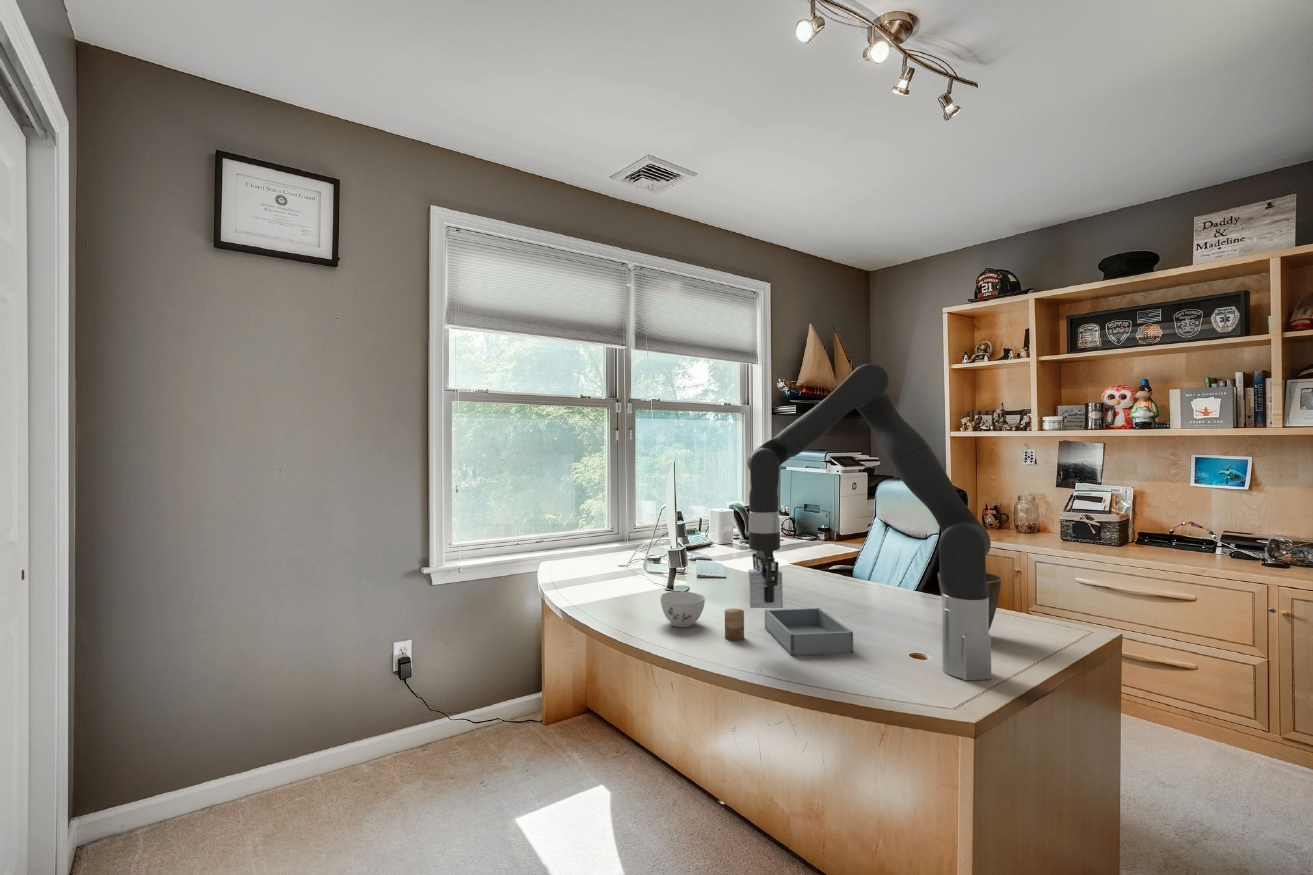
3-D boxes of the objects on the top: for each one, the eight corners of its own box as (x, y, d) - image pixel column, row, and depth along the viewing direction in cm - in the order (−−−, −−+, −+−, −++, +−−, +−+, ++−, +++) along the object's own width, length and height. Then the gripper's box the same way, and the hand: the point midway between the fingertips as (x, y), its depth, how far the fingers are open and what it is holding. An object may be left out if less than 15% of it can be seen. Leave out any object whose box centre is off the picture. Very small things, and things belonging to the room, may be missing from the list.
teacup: (694, 634, 166) (694, 604, 166) (652, 628, 171) (652, 599, 171) (714, 619, 179) (714, 591, 179) (675, 614, 185) (674, 587, 185)
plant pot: (928, 637, 162) (928, 575, 162) (949, 624, 173) (949, 567, 173) (991, 650, 152) (990, 585, 152) (1009, 636, 162) (1009, 575, 162)
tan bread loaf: (746, 640, 160) (746, 613, 160) (727, 641, 160) (727, 614, 160) (741, 634, 165) (741, 608, 165) (722, 635, 165) (722, 608, 165)
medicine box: (781, 604, 153) (780, 568, 153) (783, 608, 149) (782, 572, 149) (748, 604, 154) (748, 569, 154) (750, 608, 150) (749, 572, 150)
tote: (853, 652, 151) (853, 632, 151) (790, 655, 149) (790, 634, 149) (819, 626, 172) (819, 608, 172) (764, 628, 170) (764, 610, 170)
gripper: (788, 533, 145) (790, 606, 145) (770, 525, 159) (771, 592, 159) (757, 534, 144) (759, 608, 144) (741, 526, 158) (743, 593, 158)
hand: (765, 599), depth 152 cm, fingers closed on medicine box, 5 cm apart
